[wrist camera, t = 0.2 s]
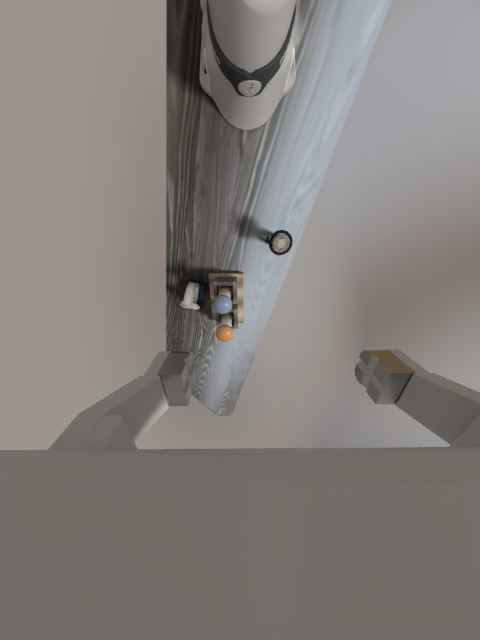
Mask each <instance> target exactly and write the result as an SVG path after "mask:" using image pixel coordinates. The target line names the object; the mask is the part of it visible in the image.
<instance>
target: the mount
mask: <svg viewBox="0 0 480 640" xmlns="http://www.w3.org/2000/svg"><path fill="white" fill-rule="evenodd" d="M209 286H210V296H211V307H212V318H213V323H216V328H218V327H219V326H220V322H221V317H222V315H223V314H220V313H218V312H216V311H215V309H214V307H213V303H214V300H215V298H216V297H217V296H218V295H219V292H220V289H221V288H223V287H228V288H229V289H230V290H231V300H232V309H231V311H230V312H228V313H229V314H230V315H231V316H232V326H231V328H232V329H234V328H238V323H243V273H209Z"/></svg>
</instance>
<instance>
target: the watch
mask: <svg viewBox="0 0 480 640" xmlns="http://www.w3.org/2000/svg"><path fill="white" fill-rule="evenodd" d="M206 286H207V283H203V282H199V281H195V280H190V279H189V280H188V281H187V282H186V288H185V295H184V301H181V304H180V306H182V307H185V308H189V309H194V310H198V309H200V306H198V305H197V304H196V302H197V299H201V300H203V299H204V297H205V292H206Z"/></svg>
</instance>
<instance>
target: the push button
mask: <svg viewBox="0 0 480 640" xmlns="http://www.w3.org/2000/svg"><path fill="white" fill-rule="evenodd" d="M279 233H284V234H279ZM277 234H278V235H277ZM262 236H263V237H262ZM260 237H262V238H264V239H265V240H266V243H269V247H270V250H271V251H272V252H273V253H274V254H276V255H283V254H285V253H287V252H288V251H289V250H290V248H291V246H292V237H291V235H290V234H289V233H288V232H287V231H284V230H279V231H276V232H275V233H274V234H273V235H270V234H268V235H263V234H261V236H260ZM272 246H273V248H274V249H275V250H274V249H273V248H272Z"/></svg>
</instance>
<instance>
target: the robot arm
mask: <svg viewBox="0 0 480 640" xmlns="http://www.w3.org/2000/svg"><path fill="white" fill-rule="evenodd" d="M200 5H201V11H202V12H203V22H202V40H201V59H200V84H201V87H202V89H203V90H204V91H205V92H206V93H207V94H208V95H209V96H210V97H211V98H213V100H214V102H215V103H216V105H217V107H218V109H219V111H220V113H221V114H222V116H223V117H224V118H225V119H226V120H227V121H228V122H229V123H230V124H231V125H233V126H234V127H236V128H239V129H243V130H251V129H255V128H257V127H259V126H261V125H263V124H264V123H265V122H266V121H267V120H268V119H269V118H270V117H271V116H272V114H273V113H274V111H275V109H276V107H277V105H278V103H279V102H280V100H281V98H282V97H283V96H284V95H285V94H286V93H288V92H289V91H290V89H291V88H292V87H293V85H294V82H295V78H296V71H295V48H294V20H295V12H296V0H200ZM205 70H206V72H207V74H206V73H205ZM359 358H360V359H361V361H360V362H359V363H358V364H356V368H355V376H356V378H357V380H358V381H359V383H360V384H361V385H363V386H364V387H366V388H367V389H366V392H367V393H368V395H369V396H370V397H371V399H372V400H373V401H374V402H375V404H396V406H397V407H398V408H400V409H401V410H403V411H404V412H406V413H407V414H408V415H410V416H411V417H413V418H414V419H415V420H417V421H418V422H419V423H421V424H422V425H424V426H425V427H426V428H428V429H429V430H431V431H432V432H433V433H435V434H436V435H438V436H439V437H441V438H442V439H443V440H445V441H446V442H448V443H449V444H450V446H449V447H417V448H416V447H412V448H411V447H410V448H409V447H405V448H404V447H403V448H280V449H279V448H265V449H137V447H136V445H135V442H136V441H137V440H138V439H139V438H140V437H141V436H142V435H143V434H144V433H145V431H146V430H147V429H149V428H150V426H151V425H152V424H153V423H154V422H155V421H156V420H157V419H158V418H159V417H160V416H161V415H162V414H163V413H164V412H165V410H167V409H168V407H169V406H187V405H188V404H189V400H190V397H191V387H193V386H194V383H195V377H196V369H195V365H194V364H193V360H194V357H193V353H192V352H173V351H171V352H159V353H158V354H157V356H156V357H155V359H154V360H153V362H152V363H151V365H150V367H149V368H148V370H147V371H146V373H145V375H144V376H139V377H138V378H136V379H134V380H133V381H131V382H130V383H128V384H126V385H125V386H123V387H121V388H120V389H118V390H117V391H115V392H113V393H112V394H110V395H108V396H107V397H105V398H104V399H102V400H100V401H99V402H97V403H96V404H94V405H92V406H91V407H89V408H88V409H86V410H84V411H83V412H81V413H79V414H78V416H77V417H76V418H75V419H74V420H73V421H72V422H71V424H70V425H69V426H68V427H67V428H66V429H65V431H64V432H63V433H62V434H61V435H60V436H59V438H58V439H57V440H56V441H55V442H54V443H53V445H52V446H51V447H50V448H49V449H48V450H0V640H480V392H477V391H475V390H473V389H470V388H468V387H465V386H463V385H461V384H458V383H456V382H453V381H451V380H449V379H446V378H444V377H441V376H439V375H436V374H434V373H429V372H428V371H426V370H425V369H424V368H422V367H421V366H420V365H419V364H417V363H416V362H415V361H413V360H412V359H411V358H410V357H408V356H407V355H406V354H404V353H403V352H402V351H400V350H397V349H388V350H363V351H362V352H361V354H360V356H359Z"/></svg>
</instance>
